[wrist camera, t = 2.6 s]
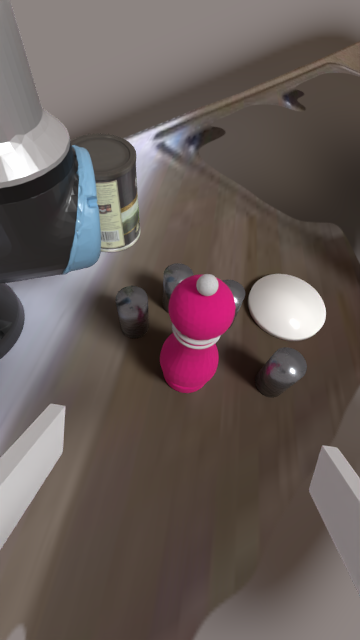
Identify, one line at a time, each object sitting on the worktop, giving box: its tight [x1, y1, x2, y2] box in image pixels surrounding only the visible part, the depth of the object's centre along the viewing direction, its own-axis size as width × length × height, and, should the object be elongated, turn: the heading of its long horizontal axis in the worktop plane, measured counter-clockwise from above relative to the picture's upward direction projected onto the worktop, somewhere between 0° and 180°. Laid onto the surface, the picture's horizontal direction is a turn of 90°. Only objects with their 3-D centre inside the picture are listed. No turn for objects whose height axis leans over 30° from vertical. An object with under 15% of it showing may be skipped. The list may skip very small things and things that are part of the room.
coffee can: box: [70, 134, 140, 252], centre depth 46 cm, size 10×10×14 cm
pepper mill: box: [160, 274, 236, 393], centre depth 31 cm, size 7×7×20 cm
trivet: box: [248, 274, 326, 341], centre depth 46 cm, size 12×12×1 cm
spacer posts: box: [116, 264, 307, 397], centre depth 39 cm, size 20×18×7 cm
